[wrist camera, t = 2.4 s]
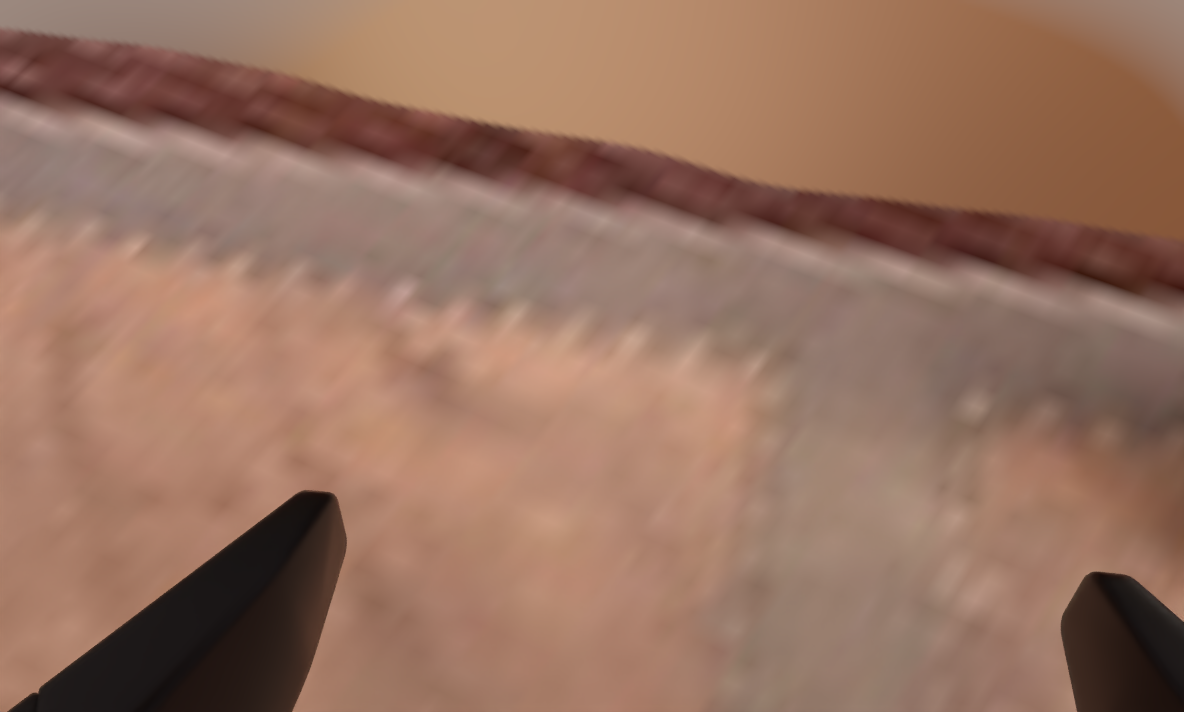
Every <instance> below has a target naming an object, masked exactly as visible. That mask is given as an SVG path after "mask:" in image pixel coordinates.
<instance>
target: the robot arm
mask: <svg viewBox="0 0 1184 712" xmlns="http://www.w3.org/2000/svg"><path fill="white" fill-rule="evenodd" d="M346 546H347V538H346V532H345V528H344V524H343V519H342V515H341V511H340V507H339V502H338V500H337V497H336V496H335V495H334V494H333V493H330V492H322V491H312V490H304V491H301V492H299V493H297V494H295V495H294V496H293V497H291V498H290V499H289V500H287V501H286V502H285V503H284V504H282V505H281V506H280V507H278V508H277V509H276V510H274V511H273V512H272V513H270V514H269V515H268V516H266V517H265V518H264V519H262V520H261V521H260V522H258V523H257V524H256V525H254V526H253V527H252V528H250V529H249V530H248V531H246V532H245V533H244V534H242V535H241V536H240V537H238V538H237V539H236V540H235V541H233V542H232V543H231V544H229V545H228V546H227V547H225V548H224V549H223V550H221V551H220V552H219V553H217V554H216V555H215V556H213V557H212V558H211V559H209V560H208V561H207V562H205V563H204V564H203V565H201V566H200V567H199V568H197V569H196V570H195V571H193V572H192V573H191V574H189V575H188V576H187V577H186V578H184V579H183V580H182V581H180V582H179V583H178V584H176V585H175V586H174V587H172V588H171V589H170V590H168V591H167V592H166V593H164V594H163V595H162V596H160V597H159V598H158V599H156V600H155V601H154V602H152V603H151V604H150V605H148V606H147V607H146V608H144V609H143V610H142V611H140V612H139V613H138V614H137V615H135V616H134V617H133V618H131V619H130V620H129V621H127V622H126V623H125V624H123V625H122V626H121V627H119V628H118V629H117V630H115V631H114V632H113V633H111V634H110V635H109V636H107V637H106V638H105V639H103V640H102V641H101V642H99V643H98V644H97V645H95V646H94V647H93V648H91V649H90V650H89V651H88V652H86V653H85V654H84V655H82V656H81V657H80V658H78V659H77V660H76V661H74V662H73V663H72V664H70V665H69V666H68V667H66V668H65V669H64V670H62V671H61V672H60V673H58V674H57V675H56V676H54V677H53V678H52V679H50V680H49V681H48V682H46V683H45V684H44V685H43V686H41V687H40V689H39V692H38V693H32V694H30V695H29V696H28V697H26V698H25V699H24V700H22V701H21V702H20V703H18V704H17V705H16V706H14V707H13V708H12V709H10V710H9V711H8V712H292V711H293V708H294V706H295V704H296V701H297V699H298V697H299V694H300V692H301V690H302V687H303V685H304V682H305V680H306V677H307V675H308V672H309V670H310V667H311V664H312V661H313V658H314V655H315V652H316V649H317V646H318V643H319V639H320V636H321V633H322V629H323V626H324V623H325V619H326V616H327V613H328V610H329V606H330V603H331V600H332V596H333V593H334V590H335V587H336V583H337V580H338V577H339V573H340V570H341V567H342V563H343V560H344V557H345V553H346ZM1061 636H1062V641H1063V646H1064V650H1065V655H1066V660H1067V665H1068V670H1069V675H1070V679H1071V684H1072V689H1073V694H1074V699H1075V704H1076V708H1077V712H1184V622H1183V621H1182V620H1181V619H1180V618H1178V617H1177V616H1176V615H1175V614H1174V613H1173V612H1172V611H1170V610H1169V609H1168V608H1167V607H1166V606H1165V605H1164V604H1163V603H1161V602H1160V601H1159V600H1158V599H1157V598H1156V597H1155V596H1153V595H1152V594H1151V593H1150V592H1149V591H1148V590H1147V589H1145V588H1144V587H1143V586H1142V585H1141V584H1140V583H1139V582H1137V581H1136V580H1135V579H1133V578H1131V577H1130V576H1127V575H1123V574H1115V573H1105V572H1091V573H1089V574H1088V575H1086V576H1085V577H1084V579H1083V580H1082V582H1081V584H1080V586H1079V587H1078V589H1077V591H1076V592H1075V594H1074V596H1073V598H1072V599H1071V601H1070V603H1069V604H1068V606H1067V608H1066V609H1065V611H1064V613H1063V616H1062V620H1061Z"/></svg>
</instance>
